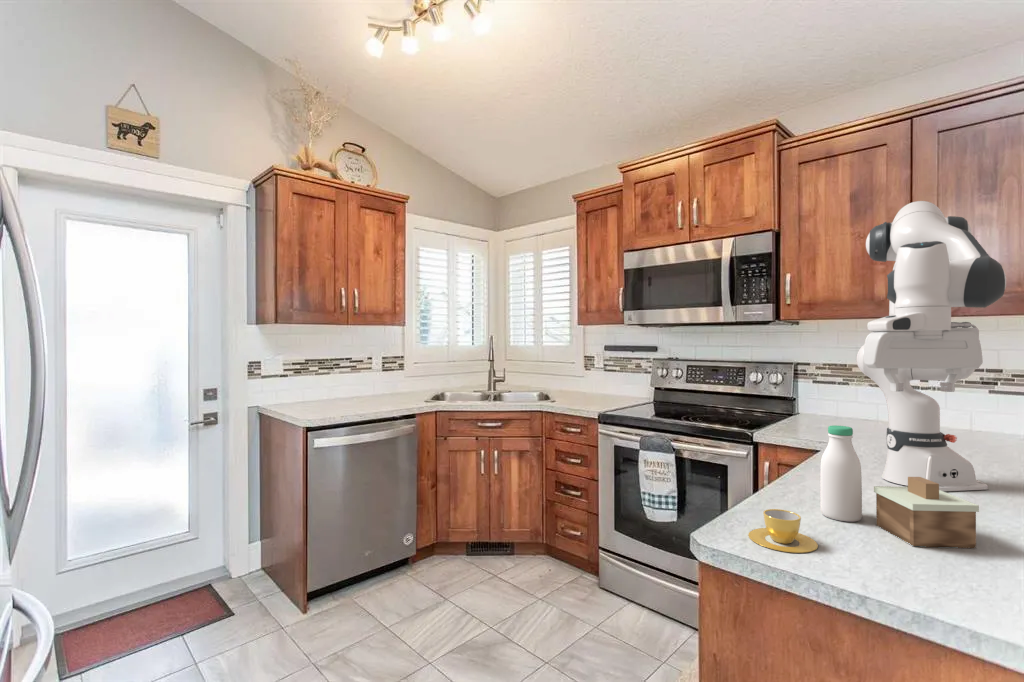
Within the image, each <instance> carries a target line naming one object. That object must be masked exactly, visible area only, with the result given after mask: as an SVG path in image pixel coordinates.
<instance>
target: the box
mask: <svg viewBox="0 0 1024 682" xmlns="http://www.w3.org/2000/svg"><path fill="white" fill-rule="evenodd" d="M875 494H876V496H875V498H876V502H875V503H876V510H875V511H876V512H875V513H876V519H875V520H876V526H877V527H878V528H880V527H881V528H880V529H883V531H885V530H886V531H885V532H887V531H888V533H889V532H890V533H889V534H891V535H892V534H893V535H892V536H894V535H895V536H894V537H896V536H897V537H896V538H898V537H899V538H901V539H902V540H901V539H900V540H901V541H903V540H904V541H906V542H908V543H910V544H911V545H913V546H926V547H925V548H938V547H958V548H957V549H977V512H960V511H914V510H911V509H909V508H907V507H905V506H902V505H900V504H898V503H896V502H894V501H892V500H890V499H888V498H886V497H884V496H882V495H879V494H877V493H875ZM899 538H898V539H899ZM904 541H903V542H904ZM906 542H905V543H906ZM908 543H907V544H908ZM910 544H909V545H910ZM911 545H910V546H911ZM913 546H912V547H913Z"/></svg>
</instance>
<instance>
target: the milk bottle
mask: <svg viewBox="0 0 1024 682" xmlns="http://www.w3.org/2000/svg"><path fill="white" fill-rule="evenodd" d="M827 433H828V434H827V435H828V438H829V439H828V443H827V446H826V448H825V449H824V452H823V453H822V455H821V459H820V470H819V471H820V477H819V479H820V480H819V481H820V483H819V484H820V485H819V486H820V487H819V488H820V489H819V490H820V497H819V499H820V501H819V502H820V506H819V507H820V513H821V514H822V516H824V517H827V518H828V519H832V520H836V521H841V522H846V523H847V522H851V523H852V522H853V523H854V522H855V523H856V522H860V521H861V520H862V518H863V488H862V487H863V482H862V480H863V479H862V465H861V461H860V457H859V456H858V454H857V452H856V451H855V447H854V445H853V443H852V442H853V441H852V439H853V437H854V436H853V434H854V430H853V428H852V427H850V426H846V425H828V427H827Z"/></svg>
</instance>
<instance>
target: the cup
mask: <svg viewBox="0 0 1024 682" xmlns="http://www.w3.org/2000/svg"><path fill="white" fill-rule="evenodd" d="M801 519H802V517H801V515H800V514H798V513H796V512H793V511H790V510H786V509H779V508H769V509H768V508H767V509H765V510H764V511H763V522H764V525H765V527H760V528H756V529H752V530H751V531H749V532H748V535H747V536H748V538H749V539H750V540H751V541H752V542H753V543H756V544H757V545H760V546H762V547H765V548H768V549H771V550H775V551H779V552H784V553H793V554H794V553H795V554H798V553H799V554H800V553H801V554H803V553H811V552H814V551H816V550H817V549H818V547H819V545H818V543H817V541H815V540H814V539H813V538H811V537H810V536H808V535H806V534H803V533H800V532H799V531H800V527H801ZM767 536H770V539H772V540H773V541H774V542H776V543H779V544H783V545H789V544H792V543H793V542H794V541H795V540H796V541H797V542H798V543H799V544H798V545H796V546H783V545H777V544H774V543H771V542H770V541H768V540H766V538H767Z"/></svg>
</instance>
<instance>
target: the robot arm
mask: <svg viewBox="0 0 1024 682" xmlns="http://www.w3.org/2000/svg"><path fill="white" fill-rule="evenodd" d="M865 250H866V252H867V253H868V255H869V258H870V259H871V260H872V261H875V262H882V263H883V262H884V263H885V262H887V261H888V262H890V261H891V262H894V264H893V268H892V271H890V272H889V273H888V274H887V275H886V278H887V295H886V298H887V300H889V302H888V303H889V306H888V310H889V312H888V315H886V316H884V317H880V318H877V319H874V320H873V319H872V320H870V321H868V322H867V328H866V329H867V330H868V332H869V333H868V335H866V338H865V340H864V344H863V345H861V347H860V348H859V349H858V351H857V354H856V359H855V360H856V365H857V367H858V369H859V370H860V372H862V374H864V375H865V377H868V378H870V379H871V380H872V381H873V382H874V383H875V384H876V385H877V386H878V387H879V389H880V390H881V392H882V394H883V396H884V397H885V400H886V406H887V416H888V427H887V428H886V447H887V452H886V453H887V454H886V461H885V465H884V468H883V472H882V474H881V478H882V479H883V480H885V481H887V482H890V483H894V484H898V485H903V486H905V487H908V477H922V478H925V479H927V480H930V481H933V482H935V483H938V484H939V490H941V491H943V492H957V491H960V492H962V491H963V492H964V491H980V490H981V491H983V490H989V486H988V484H986V483H985V482H983V481H981V480H978V479H977V477H976V471H975V468H974V466H973V464H972V462H971V461H969V460H968V459H966V458H965V457H963V456H962V455H961V454H959V453H957V452H956V451H955V450H954V449H952V448H951V447H949V446H948V443H949V442H950V443H956V442H957V441H958V437H957V436H956V435H954V434H950V433H946V434H945V433H943V432H942V431H941V413H940V412H941V411H940V410H941V409H940V408H941V407H940V405H939V402H938V401H937V400H936V399H934V398H933V397H931V396H929V395H928V394H926V393H924V392H920V391H918V390H916V389H915V388H913V387H912V385H911V381H935V382H937V381H938V382H940V383H939V386H940V387H939V390H940V391H941V392H945V393H950V392H951V393H954V392H955V390H956V383H957V381H958V380H964V379H967V378H969V377H971V375H973V373H974V372H975V370H976V369H977V370H978V369H979V368H980V367H981V365H983V359H984V358H983V350H982V346H981V345H982V344H981V341H980V330H979V328H978V327H977V326H976V325H974V324H972V323H971V322H969V321H962V322H960V321H959V322H957V321H952V308H959V307H960V308H961V307H962V308H984V309H985V308H987V307H989V306H990V305H992V304H994V303H995V302H998V300H1000V299H1001V298H1002V297H1003V296H1004V294H1005V291H1006V289H1007V288H1006V287H1007V277H1006V276H1007V275H1006V272H1005V270H1004V268H1003V265H1002V264H1001V263H1000V262H999V261H997V260H996V259H995V258H993V257H991V256H990V254H989V253H988V252H987V251H986V250H985V249H984V248H983V246H982V244H980V242H978V240H977V238H976V237H975V236H974V235H973V233H972V229H971V226H970V224H969V223H968V220H967V219H966V218H965V217H962V216H952V215H948V216H947V217H945V214H944V213H943V212H942V210H941V209H940V208H939V206H937V205H936V204H935V203H933V202H931V201H927V200H926V201H925V200H917V201H912V202H910V203H906V204H905V205H904V206H902V207H901V208H900V209H899V210H898V212H897V213H896V215H895V216H894V219H893V220H892V222H887V221H884V222H883V223H881V224H878V225H875V226H874V227H873V228H871V229H870V231H869V233H868V234H867V237H866V239H865ZM947 442H948V443H947Z"/></svg>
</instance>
